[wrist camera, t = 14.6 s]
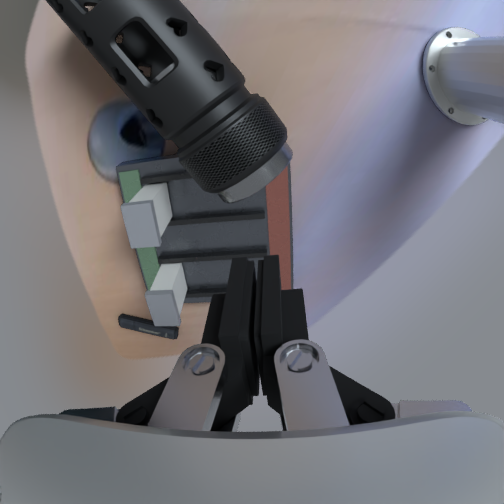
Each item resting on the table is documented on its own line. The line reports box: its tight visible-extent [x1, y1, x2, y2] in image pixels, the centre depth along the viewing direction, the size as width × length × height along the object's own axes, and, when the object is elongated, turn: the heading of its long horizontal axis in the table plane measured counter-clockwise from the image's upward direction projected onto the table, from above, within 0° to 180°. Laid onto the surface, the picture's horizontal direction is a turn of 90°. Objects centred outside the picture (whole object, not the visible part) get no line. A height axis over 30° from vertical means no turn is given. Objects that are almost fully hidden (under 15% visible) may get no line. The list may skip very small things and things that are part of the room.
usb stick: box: [118, 314, 179, 339], centre depth 47 cm, size 10×3×2 cm, turn 77°
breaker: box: [121, 182, 173, 248], centre depth 32 cm, size 3×4×7 cm
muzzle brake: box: [46, 0, 293, 204], centre depth 24 cm, size 10×28×10 cm, turn 36°
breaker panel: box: [116, 154, 293, 303], centre depth 38 cm, size 19×19×3 cm
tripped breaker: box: [145, 263, 187, 326], centre depth 37 cm, size 3×4×7 cm
